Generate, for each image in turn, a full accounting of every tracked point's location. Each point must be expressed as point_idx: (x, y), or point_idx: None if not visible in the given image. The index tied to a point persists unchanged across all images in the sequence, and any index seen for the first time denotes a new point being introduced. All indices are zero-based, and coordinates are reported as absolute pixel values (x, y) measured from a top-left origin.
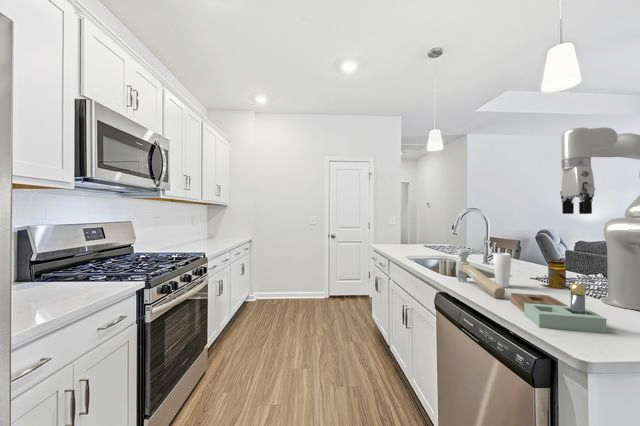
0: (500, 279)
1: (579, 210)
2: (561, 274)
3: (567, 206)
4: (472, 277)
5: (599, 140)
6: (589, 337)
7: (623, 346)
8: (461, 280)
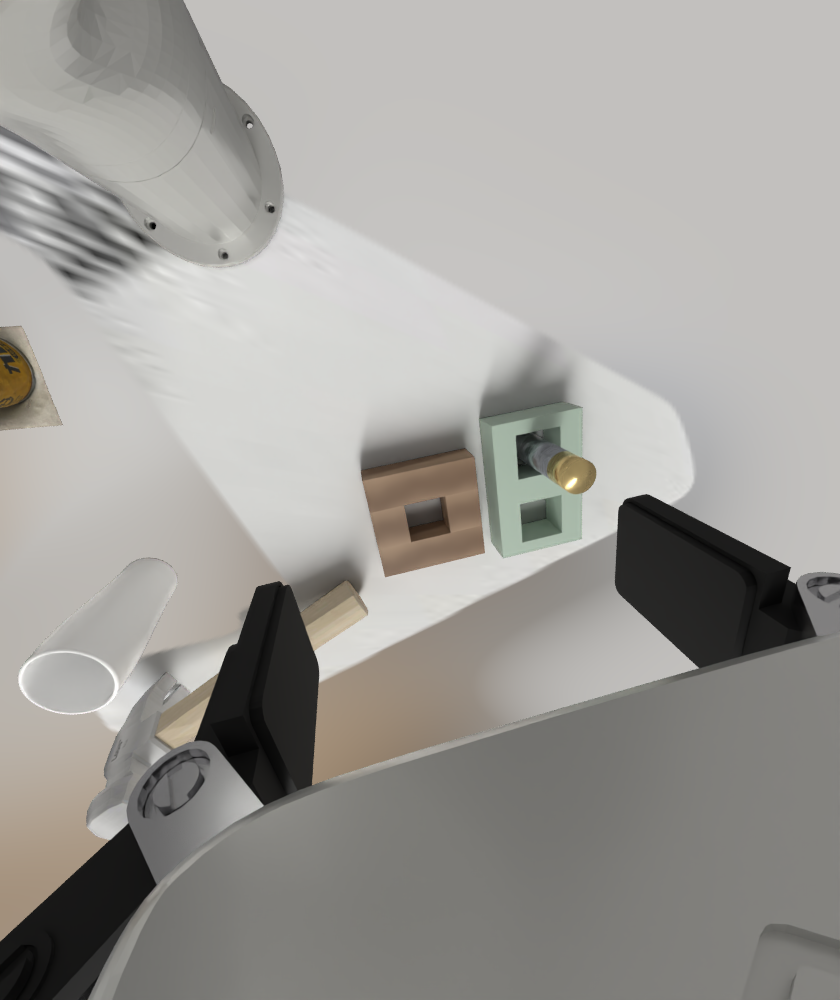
0: (167, 601)
1: (648, 610)
2: None
3: (298, 721)
4: None
5: None
6: (597, 446)
7: (629, 400)
8: (175, 694)
